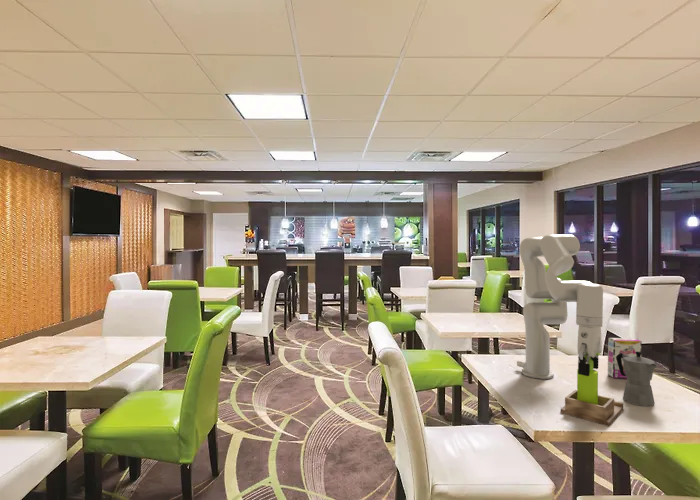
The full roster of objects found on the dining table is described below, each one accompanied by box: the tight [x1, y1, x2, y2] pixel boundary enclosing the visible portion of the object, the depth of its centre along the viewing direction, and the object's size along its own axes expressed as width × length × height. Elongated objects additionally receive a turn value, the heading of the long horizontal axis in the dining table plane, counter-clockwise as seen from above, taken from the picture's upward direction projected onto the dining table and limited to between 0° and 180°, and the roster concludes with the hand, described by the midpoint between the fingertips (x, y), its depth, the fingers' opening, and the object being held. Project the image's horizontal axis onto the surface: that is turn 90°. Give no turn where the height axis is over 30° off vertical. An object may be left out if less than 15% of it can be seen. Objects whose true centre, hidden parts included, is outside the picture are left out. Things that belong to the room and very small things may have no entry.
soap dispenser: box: [576, 353, 602, 405], centre depth 131 cm, size 6×7×20 cm
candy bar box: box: [607, 337, 643, 380], centre depth 167 cm, size 11×5×16 cm, turn 84°
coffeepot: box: [616, 351, 658, 407], centre depth 142 cm, size 15×9×18 cm, turn 13°
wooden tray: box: [560, 389, 624, 427], centre depth 133 cm, size 14×18×5 cm
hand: (588, 371), depth 132 cm, fingers open, 9 cm apart
